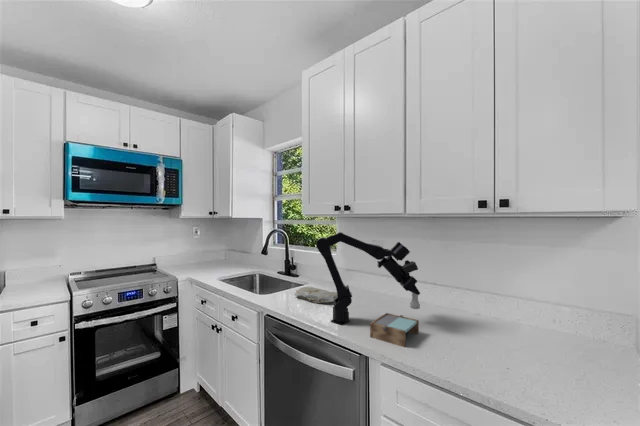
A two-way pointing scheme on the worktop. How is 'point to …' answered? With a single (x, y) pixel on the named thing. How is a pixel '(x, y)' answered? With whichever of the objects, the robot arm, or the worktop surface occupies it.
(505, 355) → the worktop surface
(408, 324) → the trapdoor flap
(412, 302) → the rook chess piece
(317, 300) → the fossil stone
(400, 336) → the walnut stand
